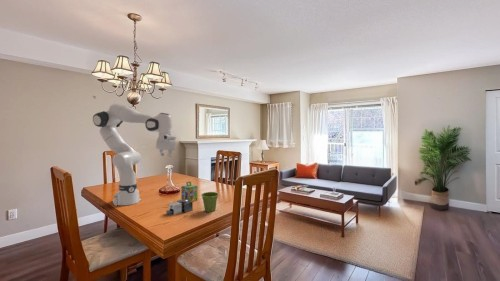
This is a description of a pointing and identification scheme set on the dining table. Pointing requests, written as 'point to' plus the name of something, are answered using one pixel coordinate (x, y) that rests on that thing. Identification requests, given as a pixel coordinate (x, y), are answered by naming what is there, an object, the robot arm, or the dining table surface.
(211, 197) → the plant pot
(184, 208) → the coupler
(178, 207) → the lock block
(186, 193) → the green patterned lantern
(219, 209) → the dining table surface
